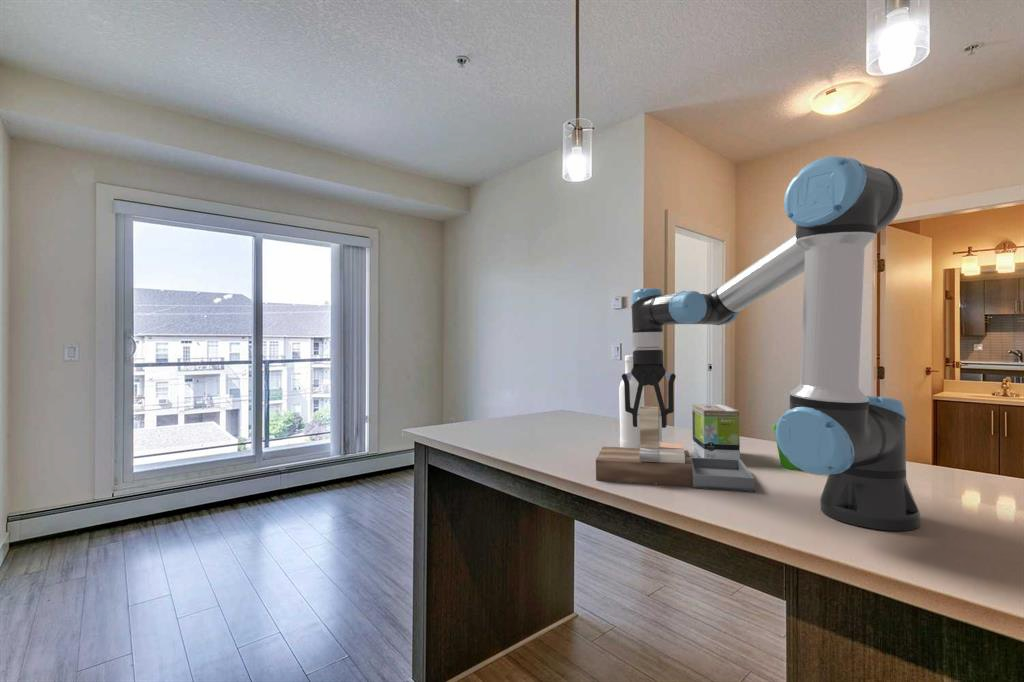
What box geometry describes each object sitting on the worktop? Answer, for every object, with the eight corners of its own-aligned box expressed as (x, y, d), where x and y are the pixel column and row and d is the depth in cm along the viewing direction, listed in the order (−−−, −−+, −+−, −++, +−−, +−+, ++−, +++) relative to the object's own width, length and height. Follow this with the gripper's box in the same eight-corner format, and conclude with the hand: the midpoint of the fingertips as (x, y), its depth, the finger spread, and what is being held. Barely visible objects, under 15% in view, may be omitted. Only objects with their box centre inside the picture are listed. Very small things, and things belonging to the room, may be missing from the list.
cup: (801, 463, 130) (800, 423, 130) (819, 472, 121) (818, 429, 121) (767, 463, 130) (766, 423, 131) (782, 471, 121) (781, 429, 122)
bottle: (627, 445, 157) (625, 355, 157) (649, 448, 152) (647, 355, 152) (615, 449, 151) (613, 355, 151) (638, 452, 146) (636, 355, 146)
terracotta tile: (683, 456, 119) (683, 448, 119) (659, 455, 121) (658, 447, 121) (682, 451, 125) (682, 443, 125) (659, 450, 126) (659, 442, 126)
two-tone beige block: (658, 462, 112) (657, 411, 112) (639, 461, 114) (638, 411, 114) (659, 448, 128) (658, 404, 128) (642, 447, 129) (641, 403, 129)
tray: (755, 491, 106) (754, 478, 106) (693, 487, 109) (692, 474, 109) (741, 471, 123) (741, 459, 123) (688, 468, 127) (687, 457, 127)
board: (692, 486, 110) (692, 465, 110) (596, 480, 117) (595, 459, 117) (688, 469, 126) (687, 450, 126) (603, 464, 132) (602, 446, 132)
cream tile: (685, 463, 112) (684, 455, 112) (658, 462, 114) (658, 453, 114) (684, 457, 118) (683, 449, 118) (658, 456, 120) (658, 448, 120)
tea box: (741, 463, 131) (740, 410, 131) (703, 462, 133) (702, 409, 133) (725, 451, 146) (724, 403, 146) (691, 450, 148) (690, 403, 148)
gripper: (683, 348, 122) (685, 438, 122) (614, 349, 127) (616, 436, 127) (684, 348, 115) (687, 444, 115) (611, 349, 120) (613, 441, 120)
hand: (649, 439), depth 121 cm, fingers closed on two-tone beige block, 4 cm apart
